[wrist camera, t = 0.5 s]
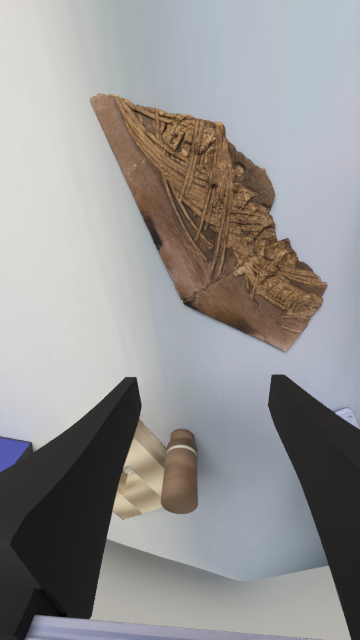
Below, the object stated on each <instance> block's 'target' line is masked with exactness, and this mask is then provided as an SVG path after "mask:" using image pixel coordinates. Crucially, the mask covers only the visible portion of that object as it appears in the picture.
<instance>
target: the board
mask: <svg viewBox="0 0 360 640" xmlns="http://www.w3.org/2000/svg"><path fill="white" fill-rule="evenodd" d="M166 452H167V449H166V448H165V447H164V446H163V444H162V443H161V442H160V441H159V440H158V439H157V438H156V437H155V436H154V435H153V434H152V433H151V431H150V430H149V429H148V428H147V427H146V426H145V425H144V424H143V423H142V422H141V421H140V419H139V421H138V425H137V428H136V431H135V435H134V438H133V441H132V444H131V447H130V450H129V453H128V455H127V458H126V461H125V464H124V467H125V466H129V467H130V468H131V469H132V470H133V471H134V472H135V473H134V474H131V475H128V476H127V475H126V474H125V473H124V472H123V471H122V474H121V477H120V481H119V485H118V490H117V494H116V498H115V502H114V506H113V512H114V513H115V514H116V515H117V516H119V517H120V518H121V519H122V520H124V519H127V518H130V517H134V516H137V515H140V514H143V513H147V512H150V511H153V510H156V509H160V508H163V507H162V505H161V493H162V485H163V477H164V469H165V461H166Z"/></svg>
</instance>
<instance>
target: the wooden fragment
mask: <svg viewBox="0 0 360 640" xmlns="http://www.w3.org/2000/svg"><path fill="white" fill-rule="evenodd" d="M90 102H91V104H92V107H93V109H94V111H95V113H96V115H97V118H98V120H99V122H100V124H101V126H102V128H103V131H104V132H105V135H106V137H107V140H108V142H109V144H110V146H111V148H112V151H113V153H114V155H115V157H116V159H117V161H118V163H119V165H120V168H121V170H122V172H123V174H124V176H125V178H126V181H127V183H128V185H129V187H130V189H131V192H132V194H133V196H134V198H135V200H136V203H137V205H138V207H139V210H140V212H141V214H142V216H143V219H144V221H145V223H146V225H147V227H148V229H149V231H150V233H151V236H152V238H153V240H154V243H155V245H156V247H157V249H158V251H159V253H160V255H161V258H162V260H163V262H164V264H165V266H166V268H167V270H168V273H169V274H170V276H171V277H172V279H173V282H174V285H175V287H176V289H177V291H178V293H179V296H180V297H181V299H182V300H184V299H185V300H184V301H183V303H184V304H185V305H187V306H189V307H191V308H193V309H196V310H197V311H199V312H201V313H204V314H206V315H208V316H210V317H212V318H215V319H217V320H219V321H222V322H223V323H226V324H228V325H230V326H232V327H234V328H237V329H239V330H241V331H243V332H245V333H247V334H250V335H251V336H254V337H256V338H258V339H260V340H263V341H264V342H267V343H269V344H271V345H273V346H275V347H278V348H279V349H281V350H284V351H287V350H288V349H289V348H290V346H291V345H292V344H293V343H294V341H295V340H296V339H297V338H298V337H299V335H300V334H301V333H302V331H303V330H304V329H305V328H306V326H307V324H308V322H309V320H310V318H311V316H312V315H314V313H315V311H317V310H318V308H320V307H321V305H322V303H323V298H322V295H323V293H324V291H325V289H326V287H327V283H326V282H322V281H321V279H320V277H318V276H317V275H315V274H314V273H313V270H312V269H311V268H310V267H309V266H308V265H307V264H305V263H304V262H299V261H298V257H297V256H296V255H297V254H296V253H295V251H294V250H293V249H292V248H291V245H290V240H289V239H288V238H287V239H284V240H281V241H277V238H276V234H275V223H274V221H273V218H272V216H271V215H269V211H270V208H271V205H272V203H273V200H274V197H275V193H274V190H273V187H272V184H271V181H270V179H269V178H268V176H267V174H266V171H265V169H261V168H260V167H258V166H255V165H254V164H253V162H252V161H251V160H250V159H248V158H245V156H244V155H243V154H242V153H241V152H238V151H236V148H235V146H234V145H233V144H231V143H230V142H229V141H228V140H227V138H226V137H225V127H224V125H223V123H222V122H211V121H207V120H202V119H196V118H194V117H192V116H190V115H188V114H171V113H167V112H165V111H163V110H161V109H156V108H152V107H143V106H140V105H134V104H133V103H131V102H130V101H129V100H127V99H124V98H121V97H119V96H118V95H105V94H97V95H96V96H94V97H91V98H90ZM188 297H190V298H189V299H187V300H186V298H188Z"/></svg>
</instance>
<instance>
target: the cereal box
mask: <svg viewBox="0 0 360 640" xmlns="http://www.w3.org/2000/svg"><path fill="white" fill-rule="evenodd" d="M32 453H33V450H32V443H31V442H28V441H22V440H17V439H11V438H6V437H0V472H1V471H3V470H5V469H7V468H8V467H10V466H12V465H14V464H15V463H17V462H19V461H20V460H22V459H24V458H25V457H27V456H29V455H30V454H32Z"/></svg>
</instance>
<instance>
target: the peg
mask: <svg viewBox="0 0 360 640" xmlns="http://www.w3.org/2000/svg"><path fill="white" fill-rule="evenodd" d="M161 505H162V507H163V508H164V509H166V510H167V511H169V512H172V513H177V514H186V513H190V512H192V511H194V510H195V509H196V508H197V506H198V496H197V448H196V445H195V444H194V435H193V434H192V433H191V432H190V431H188V430H185V429H178V430H175V431H174V432H173V433H172V434H171V440H170V442H169V444H168V446H167V452H166V461H165V469H164V477H163V485H162V493H161Z"/></svg>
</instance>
